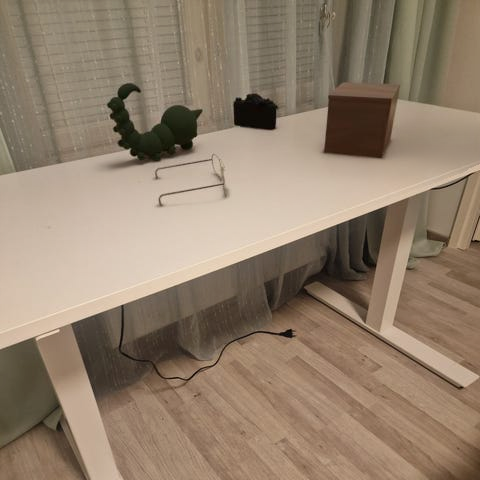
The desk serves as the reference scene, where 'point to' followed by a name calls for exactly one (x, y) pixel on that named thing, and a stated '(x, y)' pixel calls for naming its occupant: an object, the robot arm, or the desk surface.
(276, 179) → the desk surface
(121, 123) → the toy figurine
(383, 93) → the lid
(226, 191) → the eyeglasses
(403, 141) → the desk surface
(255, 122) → the film camera
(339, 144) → the chest
